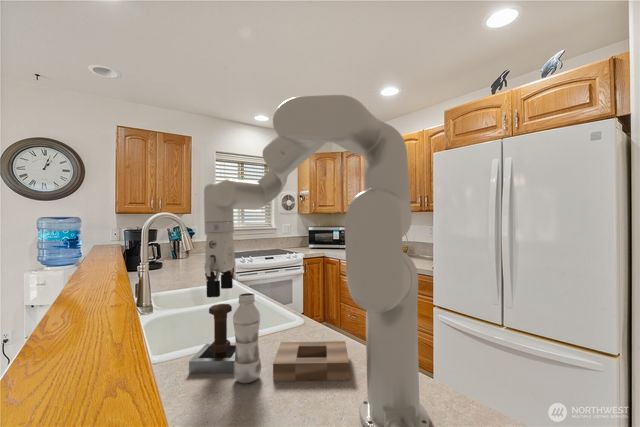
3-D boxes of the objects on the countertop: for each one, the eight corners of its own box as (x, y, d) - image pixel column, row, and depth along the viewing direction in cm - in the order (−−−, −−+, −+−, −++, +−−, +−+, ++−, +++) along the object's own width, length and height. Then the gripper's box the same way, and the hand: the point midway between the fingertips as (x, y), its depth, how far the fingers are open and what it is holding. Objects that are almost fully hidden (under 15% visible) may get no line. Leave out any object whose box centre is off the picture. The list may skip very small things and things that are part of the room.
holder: (234, 373, 69) (234, 360, 69) (189, 373, 69) (189, 361, 70) (246, 353, 80) (246, 342, 80) (206, 354, 80) (206, 343, 80)
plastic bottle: (243, 391, 62) (242, 300, 63) (227, 379, 66) (227, 295, 67) (267, 378, 67) (266, 294, 67) (251, 369, 71) (250, 290, 72)
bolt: (222, 369, 71) (222, 309, 72) (205, 367, 73) (205, 308, 73) (234, 358, 77) (234, 303, 78) (218, 356, 78) (218, 302, 79)
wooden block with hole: (349, 380, 65) (349, 362, 66) (273, 381, 66) (273, 363, 66) (345, 355, 77) (345, 341, 77) (280, 356, 78) (280, 342, 78)
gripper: (221, 228, 67) (222, 300, 67) (242, 228, 85) (243, 285, 84) (190, 229, 67) (191, 301, 67) (217, 229, 85) (218, 286, 84)
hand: (220, 292), depth 75 cm, fingers open, 9 cm apart
